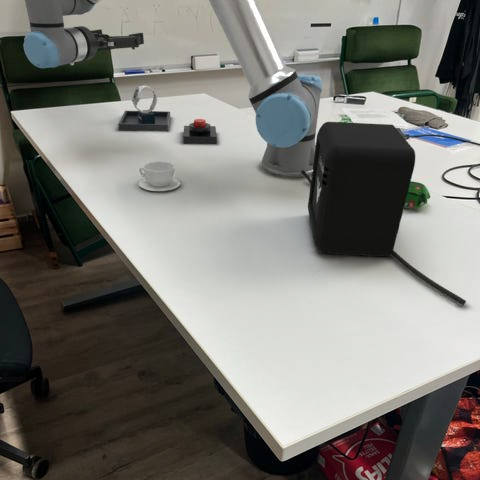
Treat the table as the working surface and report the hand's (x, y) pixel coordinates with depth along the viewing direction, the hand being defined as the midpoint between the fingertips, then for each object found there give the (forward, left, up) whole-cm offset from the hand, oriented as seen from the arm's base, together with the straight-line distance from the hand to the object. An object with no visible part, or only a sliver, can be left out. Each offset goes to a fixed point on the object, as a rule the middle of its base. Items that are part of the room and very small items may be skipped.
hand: (121, 36), depth 137 cm
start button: (-7, -22, -22) cm, 32 cm away
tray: (+9, -4, -26) cm, 28 cm away
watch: (+9, -4, -26) cm, 28 cm away
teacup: (-47, -12, -26) cm, 55 cm away
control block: (-7, -22, -26) cm, 35 cm away
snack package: (-57, -67, -26) cm, 92 cm away
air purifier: (-74, -51, -26) cm, 94 cm away
